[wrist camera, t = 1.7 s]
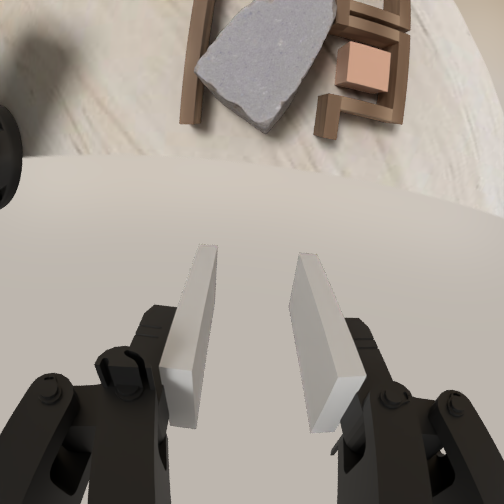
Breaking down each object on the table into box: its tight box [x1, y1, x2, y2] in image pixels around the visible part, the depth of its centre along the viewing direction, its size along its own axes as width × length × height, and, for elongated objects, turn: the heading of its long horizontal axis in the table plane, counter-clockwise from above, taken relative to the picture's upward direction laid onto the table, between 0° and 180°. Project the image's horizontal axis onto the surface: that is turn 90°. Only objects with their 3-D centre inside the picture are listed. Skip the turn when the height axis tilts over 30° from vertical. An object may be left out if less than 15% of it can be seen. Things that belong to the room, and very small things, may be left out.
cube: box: [335, 41, 391, 94], centre depth 22 cm, size 4×4×4 cm
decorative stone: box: [194, 0, 337, 134], centre depth 21 cm, size 15×7×10 cm
